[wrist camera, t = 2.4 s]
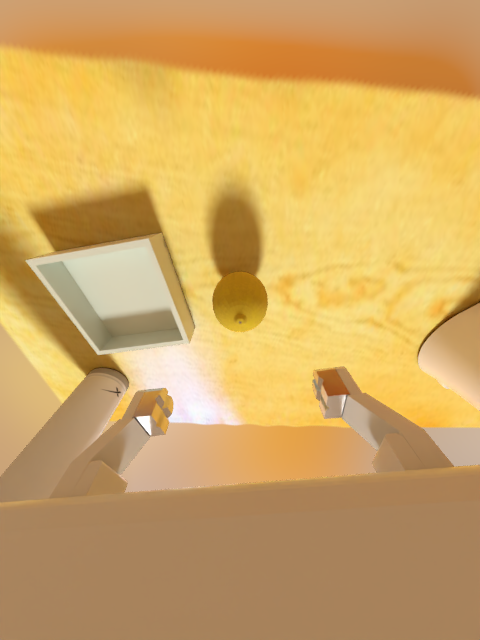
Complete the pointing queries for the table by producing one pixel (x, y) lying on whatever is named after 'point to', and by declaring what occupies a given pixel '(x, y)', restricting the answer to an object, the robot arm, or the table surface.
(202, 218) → the table surface
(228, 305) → the lemon
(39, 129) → the table surface
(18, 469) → the travel mug
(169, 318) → the bin
